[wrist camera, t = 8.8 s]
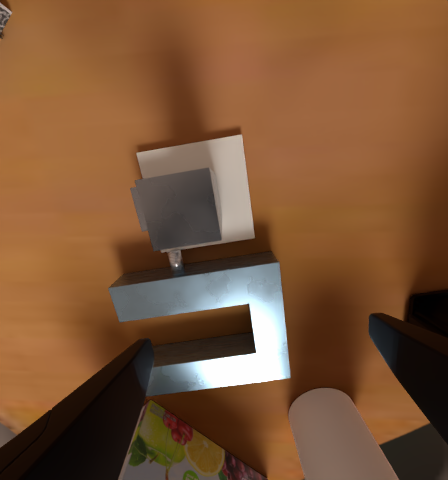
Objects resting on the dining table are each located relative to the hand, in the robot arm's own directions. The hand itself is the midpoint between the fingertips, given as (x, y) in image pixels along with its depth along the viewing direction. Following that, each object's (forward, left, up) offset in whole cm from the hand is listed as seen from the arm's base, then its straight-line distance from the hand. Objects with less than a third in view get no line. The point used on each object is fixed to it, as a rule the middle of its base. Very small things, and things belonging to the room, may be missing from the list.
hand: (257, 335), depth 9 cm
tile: (+3, -5, -13) cm, 14 cm away
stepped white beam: (+3, -5, -12) cm, 13 cm away
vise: (+6, +7, -13) cm, 16 cm away
